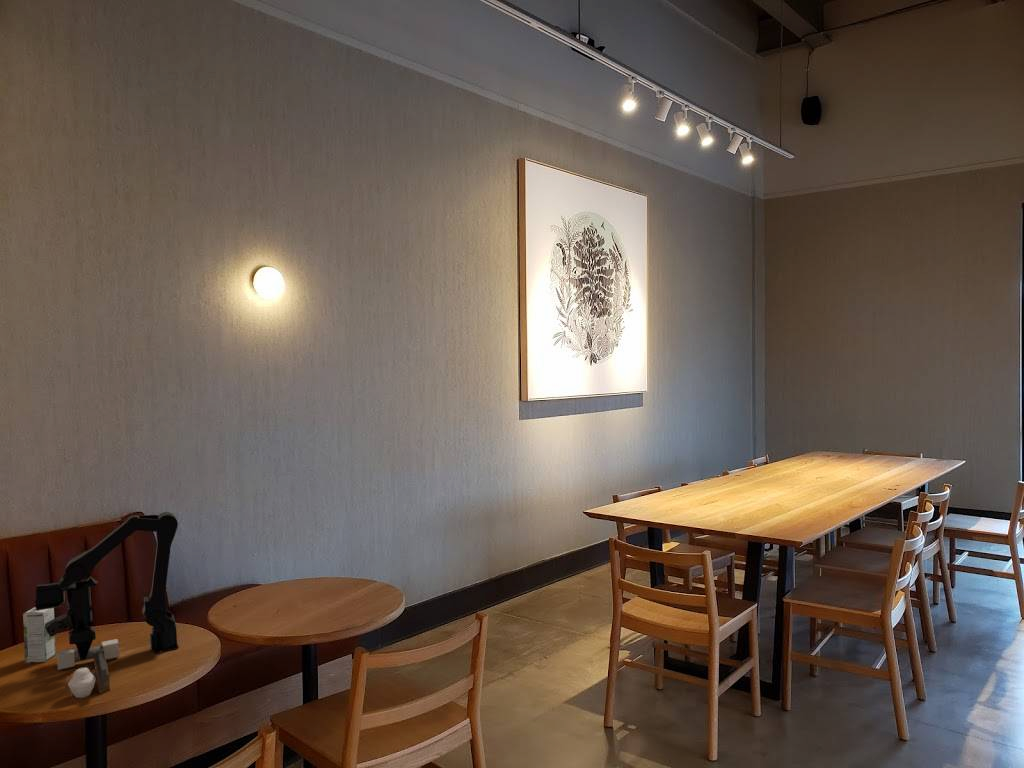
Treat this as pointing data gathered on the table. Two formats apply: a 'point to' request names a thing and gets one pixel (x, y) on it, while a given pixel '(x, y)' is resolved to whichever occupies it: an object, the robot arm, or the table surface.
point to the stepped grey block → (101, 662)
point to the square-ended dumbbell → (70, 656)
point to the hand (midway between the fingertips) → (82, 658)
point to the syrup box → (38, 635)
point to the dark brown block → (102, 682)
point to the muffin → (82, 683)
